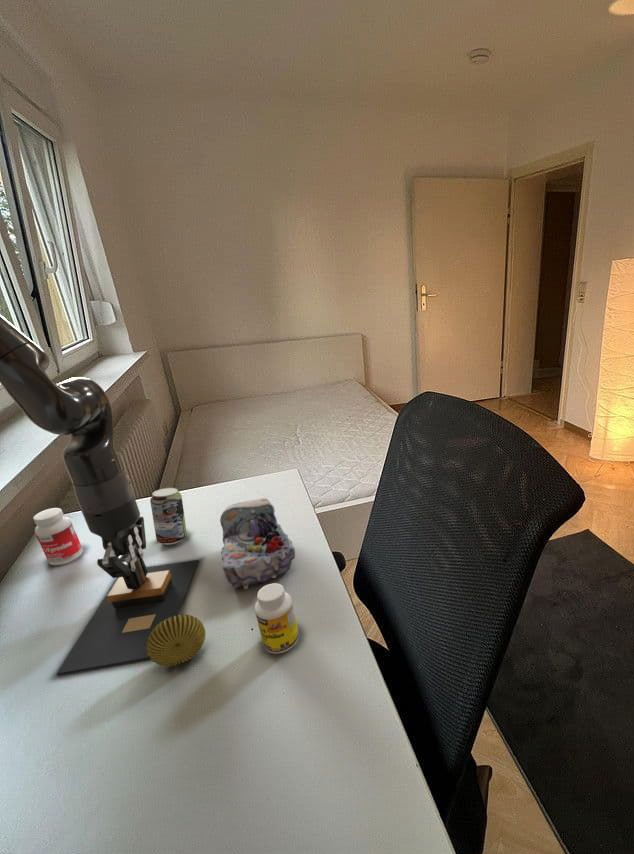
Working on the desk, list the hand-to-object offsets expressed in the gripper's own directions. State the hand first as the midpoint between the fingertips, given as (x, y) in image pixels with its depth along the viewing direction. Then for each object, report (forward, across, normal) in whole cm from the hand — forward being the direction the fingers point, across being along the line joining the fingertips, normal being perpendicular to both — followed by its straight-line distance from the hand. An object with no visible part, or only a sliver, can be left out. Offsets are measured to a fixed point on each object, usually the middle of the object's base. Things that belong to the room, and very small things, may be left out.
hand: (138, 581), depth 80 cm
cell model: (+4, -6, +20) cm, 21 cm away
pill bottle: (+4, -18, -22) cm, 29 cm away
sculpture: (+4, +16, +11) cm, 20 cm away
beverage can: (+4, -19, 0) cm, 19 cm away
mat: (+4, +3, 0) cm, 5 cm away
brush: (+3, 0, 0) cm, 3 cm away
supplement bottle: (+4, +16, +26) cm, 31 cm away
